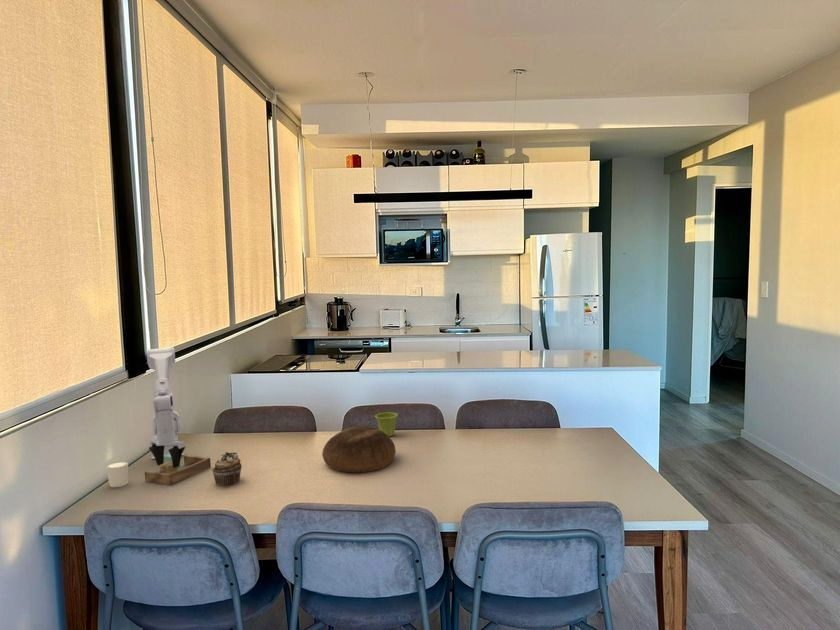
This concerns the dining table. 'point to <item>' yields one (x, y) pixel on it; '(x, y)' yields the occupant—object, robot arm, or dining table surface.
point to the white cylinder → (117, 474)
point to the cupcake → (227, 469)
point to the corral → (180, 471)
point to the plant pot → (387, 423)
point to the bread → (359, 450)
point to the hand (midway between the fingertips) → (168, 465)
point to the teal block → (168, 458)
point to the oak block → (167, 468)
